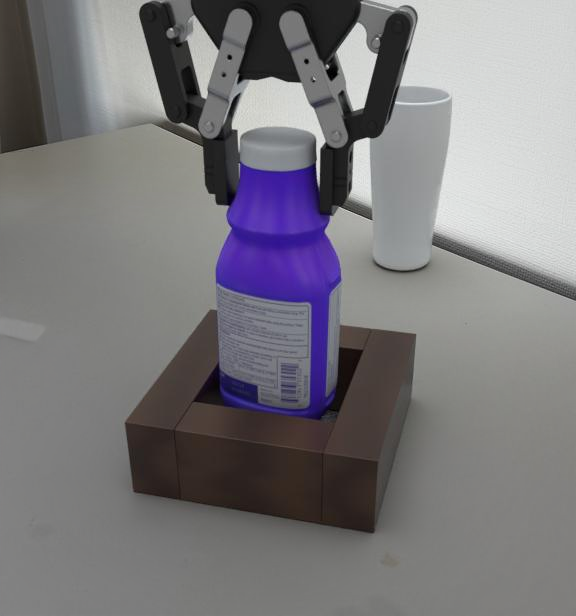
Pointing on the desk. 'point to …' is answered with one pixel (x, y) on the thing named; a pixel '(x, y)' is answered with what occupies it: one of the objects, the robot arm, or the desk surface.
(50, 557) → the desk surface
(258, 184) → the bottle
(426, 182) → the drinking glass
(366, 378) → the frame
